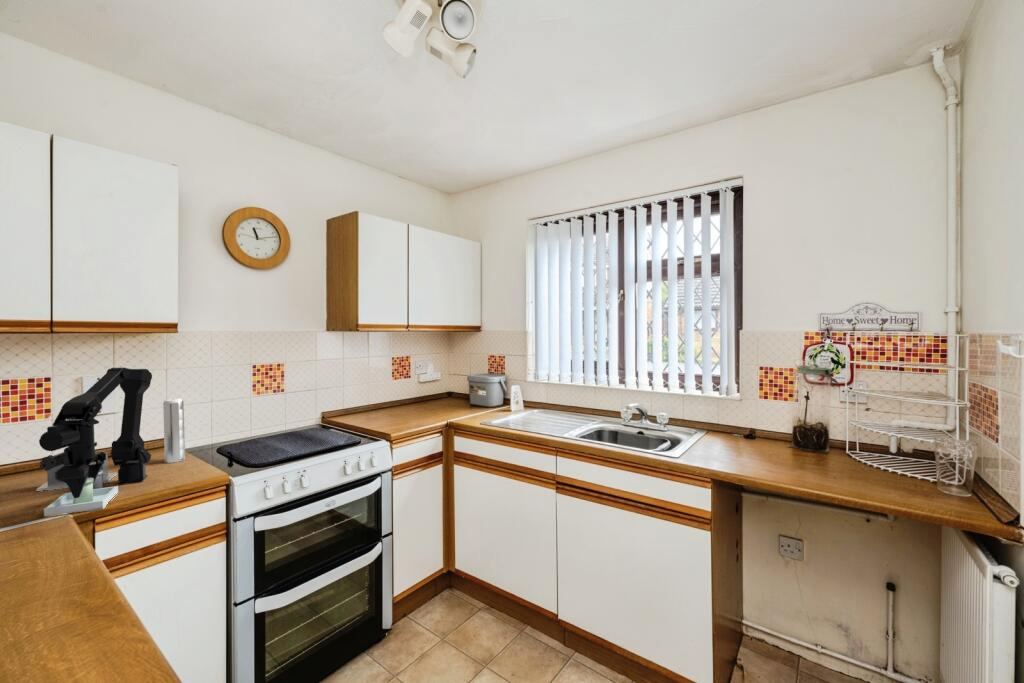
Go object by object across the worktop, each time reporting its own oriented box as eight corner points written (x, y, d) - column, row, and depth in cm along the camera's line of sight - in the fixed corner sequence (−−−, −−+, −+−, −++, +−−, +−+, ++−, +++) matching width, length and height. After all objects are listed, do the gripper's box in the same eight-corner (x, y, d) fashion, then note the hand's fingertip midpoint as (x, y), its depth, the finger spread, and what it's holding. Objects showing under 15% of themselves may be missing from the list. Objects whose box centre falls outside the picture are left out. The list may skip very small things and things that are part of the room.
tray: (118, 493, 141) (117, 486, 141) (102, 509, 129) (102, 500, 129) (65, 501, 135) (65, 493, 135) (44, 518, 123) (43, 509, 123)
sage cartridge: (96, 498, 135) (96, 476, 135) (90, 504, 131) (90, 481, 131) (75, 501, 133) (75, 479, 133) (69, 507, 129) (68, 484, 128)
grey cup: (105, 489, 144) (104, 469, 144) (100, 494, 140) (99, 473, 140) (86, 492, 142) (85, 471, 142) (80, 497, 138) (79, 475, 138)
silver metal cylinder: (167, 464, 172) (166, 401, 171) (162, 461, 175) (160, 399, 175) (187, 460, 177) (185, 399, 176) (182, 457, 181) (180, 397, 180)
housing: (117, 474, 159) (116, 450, 159) (108, 482, 151) (107, 457, 151) (49, 483, 150) (48, 457, 150) (36, 491, 142) (35, 464, 142)
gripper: (58, 438, 136) (60, 487, 136) (28, 453, 119) (30, 509, 120) (105, 433, 141) (107, 481, 141) (82, 448, 124) (84, 501, 125)
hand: (83, 492), depth 132 cm, fingers open, 9 cm apart
